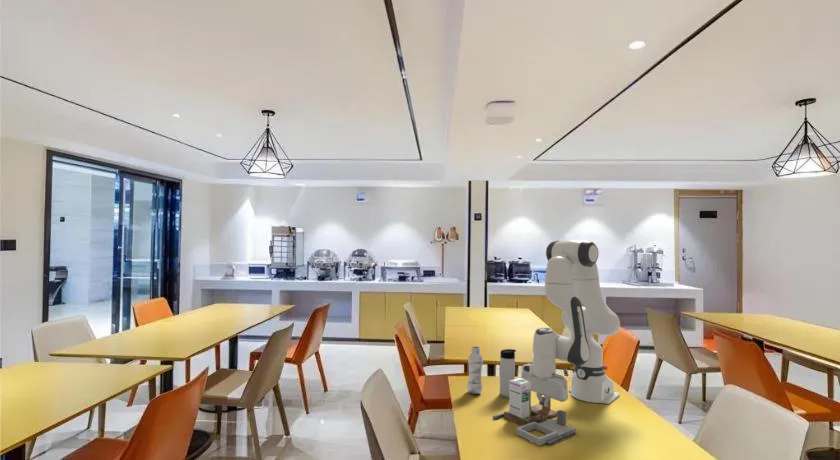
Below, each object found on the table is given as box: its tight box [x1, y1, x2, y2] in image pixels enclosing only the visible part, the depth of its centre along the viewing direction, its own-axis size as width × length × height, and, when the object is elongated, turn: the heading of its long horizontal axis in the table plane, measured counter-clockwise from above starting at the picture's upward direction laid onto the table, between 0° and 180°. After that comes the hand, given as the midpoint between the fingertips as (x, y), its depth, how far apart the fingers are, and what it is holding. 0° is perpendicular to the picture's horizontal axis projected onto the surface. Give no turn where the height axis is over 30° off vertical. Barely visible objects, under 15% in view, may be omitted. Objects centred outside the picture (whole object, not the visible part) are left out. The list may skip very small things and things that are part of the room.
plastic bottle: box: [466, 345, 484, 395], centre depth 181 cm, size 6×7×20 cm
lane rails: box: [492, 412, 577, 447], centre depth 149 cm, size 15×25×1 cm, turn 36°
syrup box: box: [508, 377, 532, 420], centre depth 155 cm, size 6×6×14 cm
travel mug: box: [499, 348, 517, 399], centre depth 179 cm, size 6×7×20 cm
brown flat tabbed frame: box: [503, 396, 557, 426], centre depth 158 cm, size 20×10×5 cm, turn 126°
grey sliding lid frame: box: [515, 409, 576, 447], centre depth 144 cm, size 20×10×5 cm, turn 126°
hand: (543, 405), depth 162 cm, fingers closed, pressing on brown flat tabbed frame
